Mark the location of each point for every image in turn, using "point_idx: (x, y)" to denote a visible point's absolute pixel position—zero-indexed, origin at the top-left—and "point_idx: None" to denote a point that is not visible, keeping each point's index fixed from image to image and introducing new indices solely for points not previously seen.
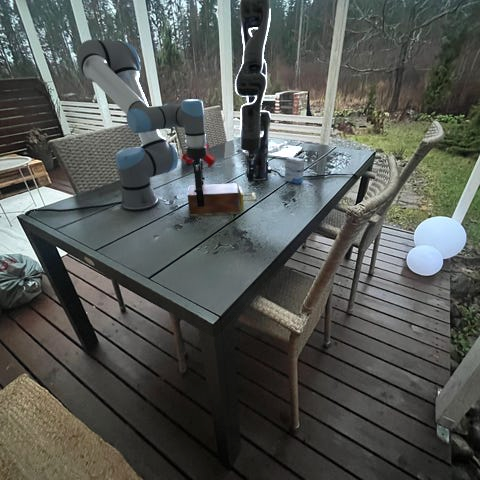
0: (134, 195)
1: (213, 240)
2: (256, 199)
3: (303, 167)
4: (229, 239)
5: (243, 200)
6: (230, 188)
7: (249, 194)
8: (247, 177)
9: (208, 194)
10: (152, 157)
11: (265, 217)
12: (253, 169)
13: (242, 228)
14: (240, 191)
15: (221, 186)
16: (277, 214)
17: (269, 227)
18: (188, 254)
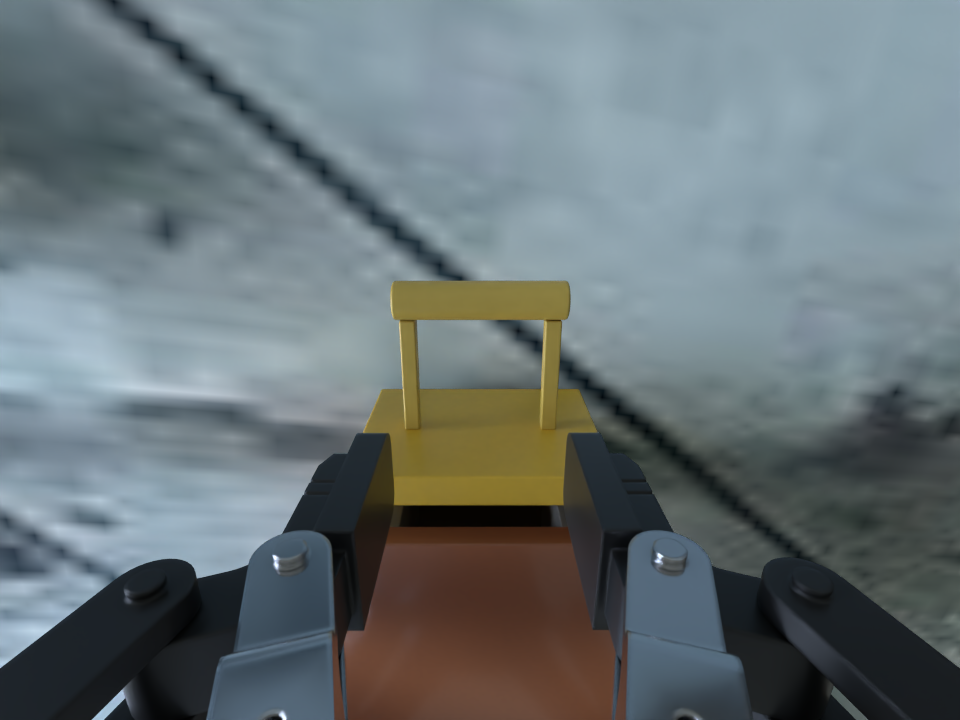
0: None
1: (905, 585)
2: (568, 291)
3: None
4: (936, 503)
5: (555, 422)
6: (493, 610)
7: (415, 348)
8: (392, 493)
9: None
10: None
11: (705, 199)
12: (829, 651)
13: (827, 412)
14: (530, 498)
15: (422, 682)
16: (675, 57)
17: (894, 198)
18: None
